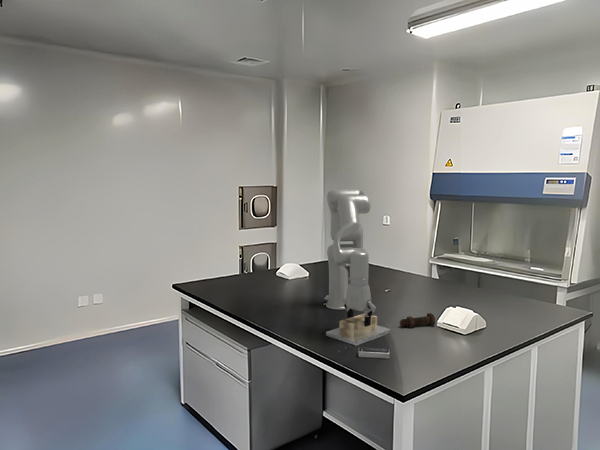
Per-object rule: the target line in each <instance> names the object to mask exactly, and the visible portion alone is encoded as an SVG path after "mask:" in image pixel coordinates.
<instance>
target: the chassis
mask: <svg viewBox="0 0 600 450" xmlns="http://www.w3.org/2000/svg"><path fill="white" fill-rule="evenodd" d="M391 333H392V329H391V328H389V327H385V326H382V325H378V324H377V328H376V329H373V330H370V331H367V332H365V333H362V334H359V335H356V336H353V337H350V336H347V335H344V334H341V333H340V327H337V328H334V329H331V330H329V331H325V336H327V337H329V338H332V339H335V340H338V341H341V342H344V343H347V344H349V345H353V346H355V347H357V346H359V345H362V344H365V343H366V342H370V341H372V340H375V339H378V338H381V337H383V336H384V337H385V336H386V335H388V334H391Z"/></svg>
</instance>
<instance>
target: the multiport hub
mask: <svg viewBox="0 0 600 450" xmlns="http://www.w3.org/2000/svg"><path fill="white" fill-rule="evenodd" d="M390 355H391V354H390V349H388V348H375V347H374V348H373V347H358V357H359V358H368V359H370V358H372V359H389V360H390Z"/></svg>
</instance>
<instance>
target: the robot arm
mask: <svg viewBox="0 0 600 450" xmlns="http://www.w3.org/2000/svg"><path fill="white" fill-rule="evenodd" d="M326 202H327V206H328V208H329V211H330V238H331V240H332V244H330V245H329V246H328V247H327V249H326V256H327V260H328V261H327V262H328V294H327V295H326V296H325V297H324V300H326V301H327V302H326V303H325V308H327V309H331V310H345V312H346V314H347V315H346V316H347V317H346V319H348V318H351V317H354V311H357V312H363V314H365V316H366V317H364V326H365V327H367V326H370V325H371V316H372V315H374V314H375V311H376V310H377V307H376V306H375V304H373V303H372V296H371V295H372V294H371V289H370V285H369V268H370V267H369V264H370V263H369V258H370V257H369V253H368V251H367V250H366V249H365V248H363V247H364V230H363V229H364V228H363V226H362V223H360V222H361V221H360V215H359V214H363V215H364V214H365V215H366V214H368V213H370V210H371V205H372V204H371V200H370V197H369V195H368V194H367V193H366V192H365V191H364V190H363V189H361V188H334V189H330V190H329V191H328V192H327V194H326ZM341 242H352V243H341ZM346 267H349V272H348V269H347V268H346Z"/></svg>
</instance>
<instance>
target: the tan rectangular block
mask: <svg viewBox="0 0 600 450" xmlns="http://www.w3.org/2000/svg"><path fill="white" fill-rule="evenodd" d="M364 317H366V316H365V314H364V313H362V314H358V315H355V316H354V315H353V317H351V318H348V319H347V318H346V319H341V320H339V328H340V333H341V334H344V335H347V336H350V337H353V336H356V335H359V334H362V333H365V332H367V331H370V330H373V329H376V328H377V325H378V316H377V315H374V314H373V315H372V316H371V325H370V326H367V327H365V326H364Z"/></svg>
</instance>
